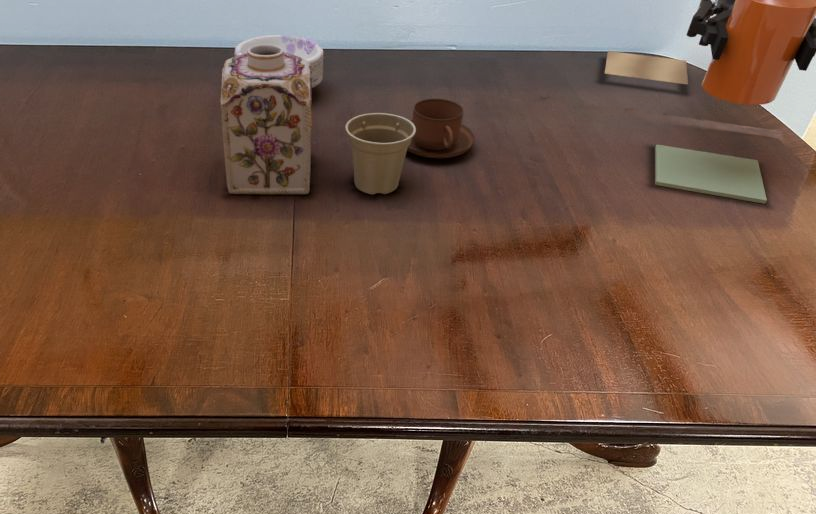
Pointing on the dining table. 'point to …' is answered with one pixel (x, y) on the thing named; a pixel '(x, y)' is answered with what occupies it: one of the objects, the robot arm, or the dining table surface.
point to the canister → (759, 49)
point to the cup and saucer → (439, 130)
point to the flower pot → (378, 150)
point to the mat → (709, 173)
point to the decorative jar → (267, 121)
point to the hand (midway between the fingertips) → (763, 53)
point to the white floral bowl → (291, 51)
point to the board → (646, 67)
